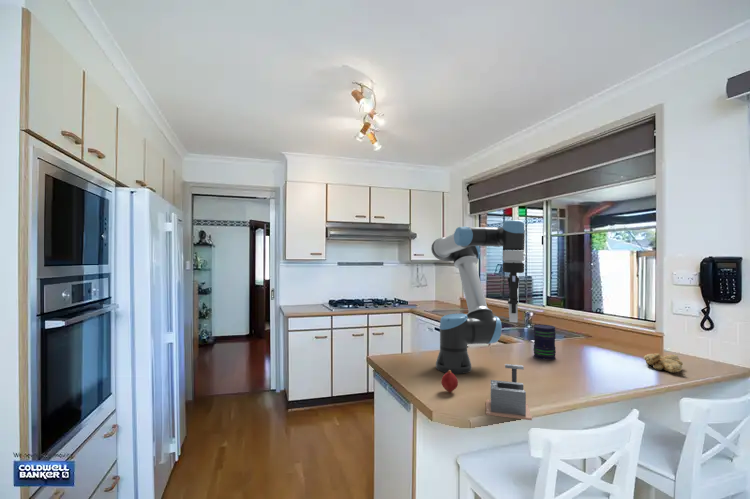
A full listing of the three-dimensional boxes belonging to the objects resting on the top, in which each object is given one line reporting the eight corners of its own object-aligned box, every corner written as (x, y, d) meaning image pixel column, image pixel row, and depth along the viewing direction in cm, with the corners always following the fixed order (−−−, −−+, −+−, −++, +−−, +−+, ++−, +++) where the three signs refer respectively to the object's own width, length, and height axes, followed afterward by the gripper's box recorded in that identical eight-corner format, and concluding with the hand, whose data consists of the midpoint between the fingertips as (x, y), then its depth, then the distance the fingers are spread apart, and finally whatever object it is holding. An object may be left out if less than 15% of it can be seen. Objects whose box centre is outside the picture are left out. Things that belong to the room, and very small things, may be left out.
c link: (490, 411, 113) (490, 389, 113) (490, 401, 121) (490, 379, 121) (525, 416, 110) (525, 392, 110) (522, 404, 118) (522, 383, 119)
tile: (486, 414, 112) (486, 412, 112) (486, 401, 123) (486, 399, 123) (531, 420, 108) (531, 418, 108) (527, 406, 119) (527, 404, 119)
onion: (439, 389, 133) (439, 367, 133) (455, 389, 134) (454, 367, 134) (443, 395, 127) (443, 372, 128) (460, 395, 128) (459, 372, 128)
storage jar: (554, 361, 171) (554, 329, 172) (531, 357, 177) (531, 326, 177) (557, 356, 180) (556, 325, 180) (535, 353, 185) (535, 323, 186)
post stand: (505, 395, 128) (505, 365, 128) (505, 393, 130) (504, 363, 130) (523, 397, 126) (523, 367, 126) (523, 394, 128) (523, 364, 129)
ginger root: (647, 358, 172) (652, 342, 170) (689, 375, 159) (694, 358, 157) (632, 364, 163) (637, 348, 162) (675, 383, 150) (680, 365, 149)
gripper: (526, 263, 123) (525, 326, 123) (522, 261, 147) (522, 314, 147) (502, 262, 126) (502, 324, 126) (502, 260, 149) (502, 312, 149)
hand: (512, 318), depth 136 cm, fingers open, 13 cm apart
